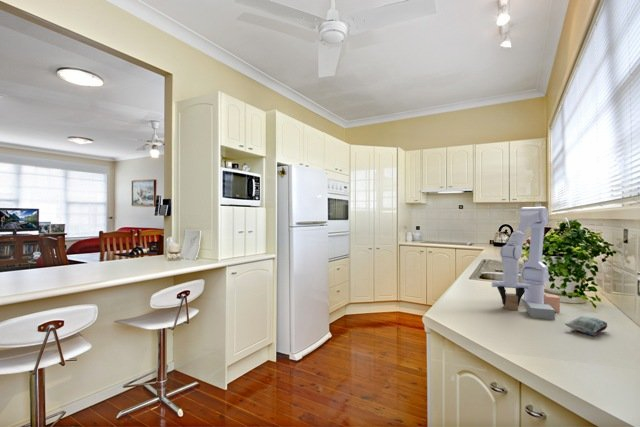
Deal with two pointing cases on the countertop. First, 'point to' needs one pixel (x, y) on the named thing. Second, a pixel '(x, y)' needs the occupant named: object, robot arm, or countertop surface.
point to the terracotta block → (552, 302)
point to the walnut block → (511, 301)
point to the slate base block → (540, 311)
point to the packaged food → (587, 325)
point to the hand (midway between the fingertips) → (510, 304)
